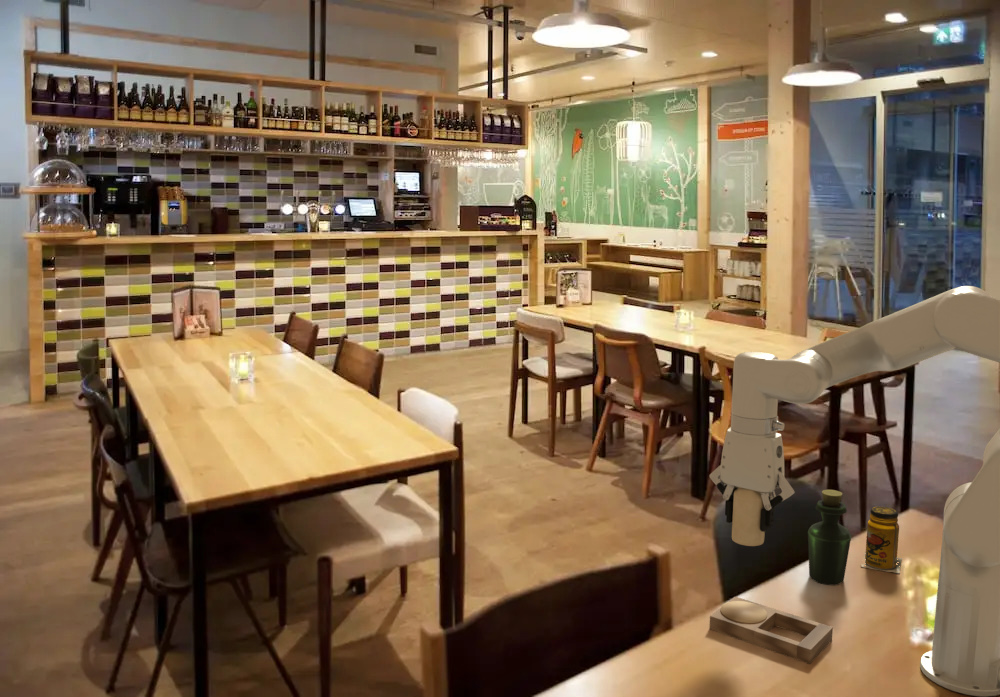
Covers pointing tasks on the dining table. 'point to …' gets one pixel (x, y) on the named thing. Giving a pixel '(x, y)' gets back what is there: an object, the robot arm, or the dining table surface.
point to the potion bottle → (829, 541)
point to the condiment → (882, 540)
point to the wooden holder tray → (758, 619)
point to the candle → (747, 517)
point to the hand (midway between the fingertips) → (748, 523)
